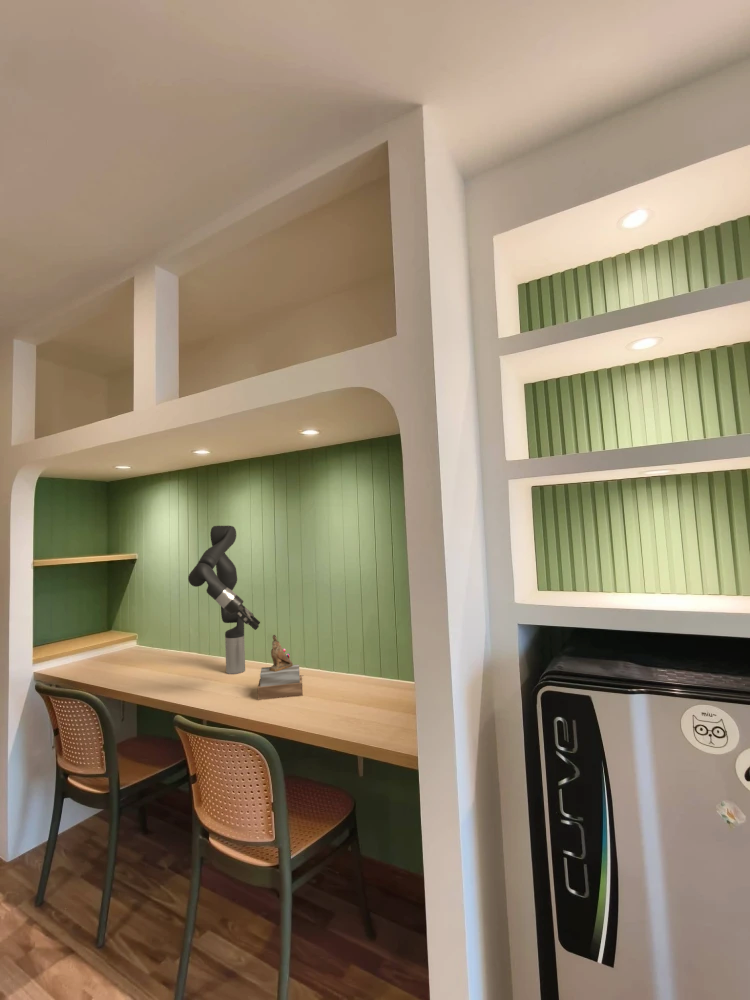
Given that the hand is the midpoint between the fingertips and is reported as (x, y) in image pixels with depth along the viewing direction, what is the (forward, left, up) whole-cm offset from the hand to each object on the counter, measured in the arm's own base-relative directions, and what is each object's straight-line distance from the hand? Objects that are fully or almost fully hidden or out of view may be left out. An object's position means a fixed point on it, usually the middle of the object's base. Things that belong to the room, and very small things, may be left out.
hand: (258, 626), depth 207 cm
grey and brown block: (0, +9, -29) cm, 30 cm away
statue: (-17, +12, -29) cm, 36 cm away
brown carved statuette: (-2, +9, -19) cm, 21 cm away
